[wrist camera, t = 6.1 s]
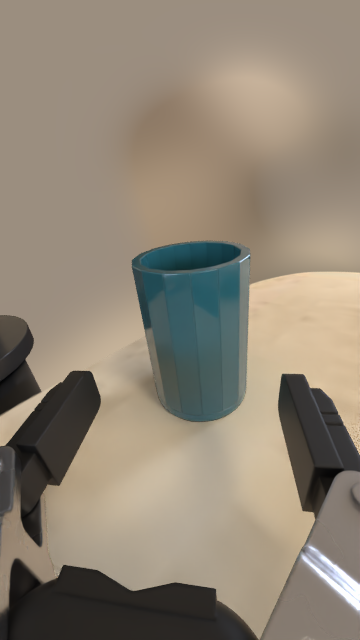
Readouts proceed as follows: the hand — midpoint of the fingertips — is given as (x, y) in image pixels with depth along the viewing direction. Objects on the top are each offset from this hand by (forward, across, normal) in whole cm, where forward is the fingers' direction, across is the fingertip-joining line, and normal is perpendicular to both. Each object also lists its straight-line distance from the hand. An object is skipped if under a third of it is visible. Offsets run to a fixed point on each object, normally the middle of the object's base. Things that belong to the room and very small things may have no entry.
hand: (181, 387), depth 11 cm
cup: (+6, 0, +6) cm, 9 cm away
